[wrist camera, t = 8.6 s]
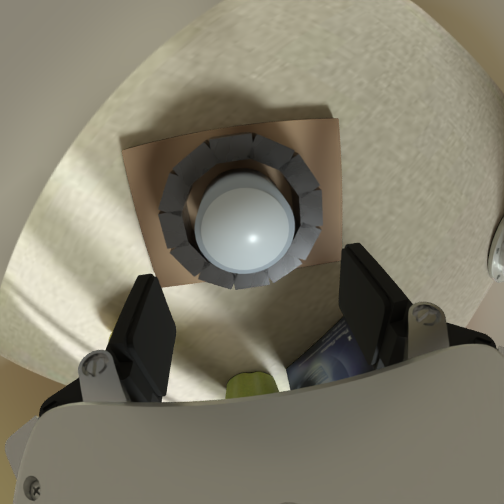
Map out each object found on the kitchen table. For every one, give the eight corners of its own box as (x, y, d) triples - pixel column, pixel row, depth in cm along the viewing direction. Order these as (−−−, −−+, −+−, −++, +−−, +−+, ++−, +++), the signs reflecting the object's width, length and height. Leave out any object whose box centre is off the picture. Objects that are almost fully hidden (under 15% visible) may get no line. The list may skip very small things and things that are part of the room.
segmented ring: (307, 126, 18) (317, 127, 16) (314, 260, 23) (323, 275, 21) (154, 149, 18) (144, 153, 16) (185, 279, 23) (181, 296, 21)
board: (333, 118, 19) (338, 118, 18) (337, 255, 24) (341, 260, 23) (126, 149, 18) (121, 150, 18) (162, 281, 24) (159, 287, 23)
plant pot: (247, 350, 29) (254, 418, 21) (303, 377, 32) (318, 434, 25) (199, 387, 32) (197, 446, 24) (254, 408, 35) (260, 460, 27)
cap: (277, 162, 19) (291, 175, 15) (284, 237, 22) (298, 267, 18) (194, 175, 19) (184, 191, 15) (209, 249, 22) (205, 281, 18)
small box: (344, 310, 28) (383, 388, 18) (377, 329, 30) (415, 396, 20) (282, 368, 31) (298, 444, 22) (319, 380, 33) (339, 447, 24)
